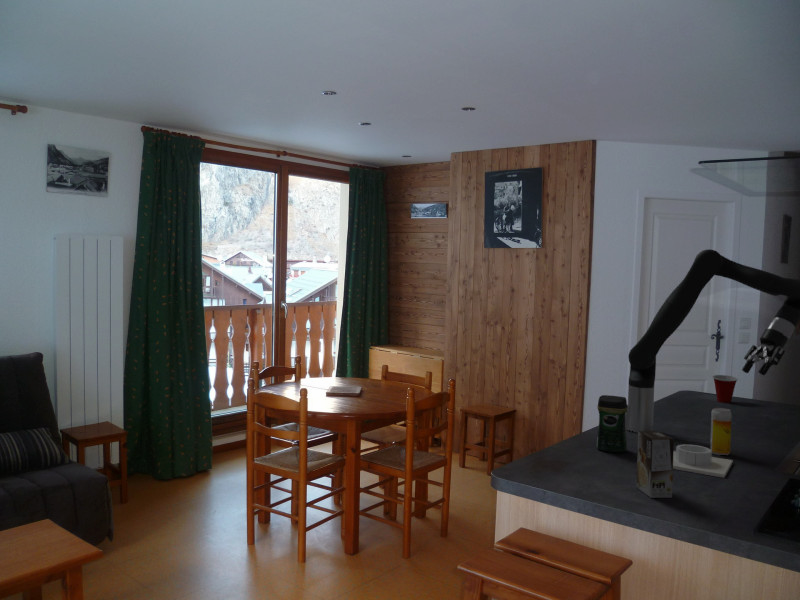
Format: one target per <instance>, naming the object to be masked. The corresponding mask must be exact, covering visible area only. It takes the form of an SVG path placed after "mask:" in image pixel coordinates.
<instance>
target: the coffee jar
mask: <svg viewBox="0 0 800 600" xmlns="http://www.w3.org/2000/svg"><path fill="white" fill-rule="evenodd" d="M627 405H628V400H627V398H626V397H625V396H618V395H611V394H610V395H607V394H605V395H604V394H603V395H600V396H599V398H598V403H597V412H598V416H599V417H598V430H597V437H596V448H597V449H598V450H599V451H603V452H607V451H609V453H624V452H626V450H627V432H626V412H627Z"/></svg>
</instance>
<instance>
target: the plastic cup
mask: <svg viewBox="0 0 800 600" xmlns="http://www.w3.org/2000/svg"><path fill="white" fill-rule="evenodd" d="M712 378H713V382H714V388H715V395H716V401H717V402H718V403H723V404H725V403H726V404H730V403H732V400H733V395H734V391H735V387H736V383H737V381H739V379H738V377H737V376H732V375H726V374H716V375H712Z"/></svg>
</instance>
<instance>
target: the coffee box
mask: <svg viewBox="0 0 800 600" xmlns="http://www.w3.org/2000/svg"><path fill="white" fill-rule="evenodd" d="M674 446H675V439H674V438H672V437H671V436H669V435H667V434H665V433H663V432H661V431H659V430H653V431H638V433H637V455H636V456H637V457H636V459H637V461H636V488H637V489H638V490H639V491H641V492H642V493H644V494H645V495H646V496H648V497H649V498H651V499H657V498H659V499H661V498H662V499H666V498H667V499H669V498H670V499H671V498H673V484H674V483H673V482H674V481H673V478H674V477H673V476H674V469H673V452H674V451H675V449H674V448H675V447H674Z"/></svg>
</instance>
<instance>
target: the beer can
mask: <svg viewBox="0 0 800 600" xmlns="http://www.w3.org/2000/svg"><path fill="white" fill-rule="evenodd" d="M710 414H711V415H710V417H711V419H710V440H709V441H710V444H709V445H710V446H709V449H710V450H712V455H715V454H716V456H720V455H727V456H729V454H731V447H732V445H731V443H732V442H731V441H732V440H731V439H732V420H733V419H732V412H731V409H728V408H724V407H714V408H712V410H711V413H710Z"/></svg>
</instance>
